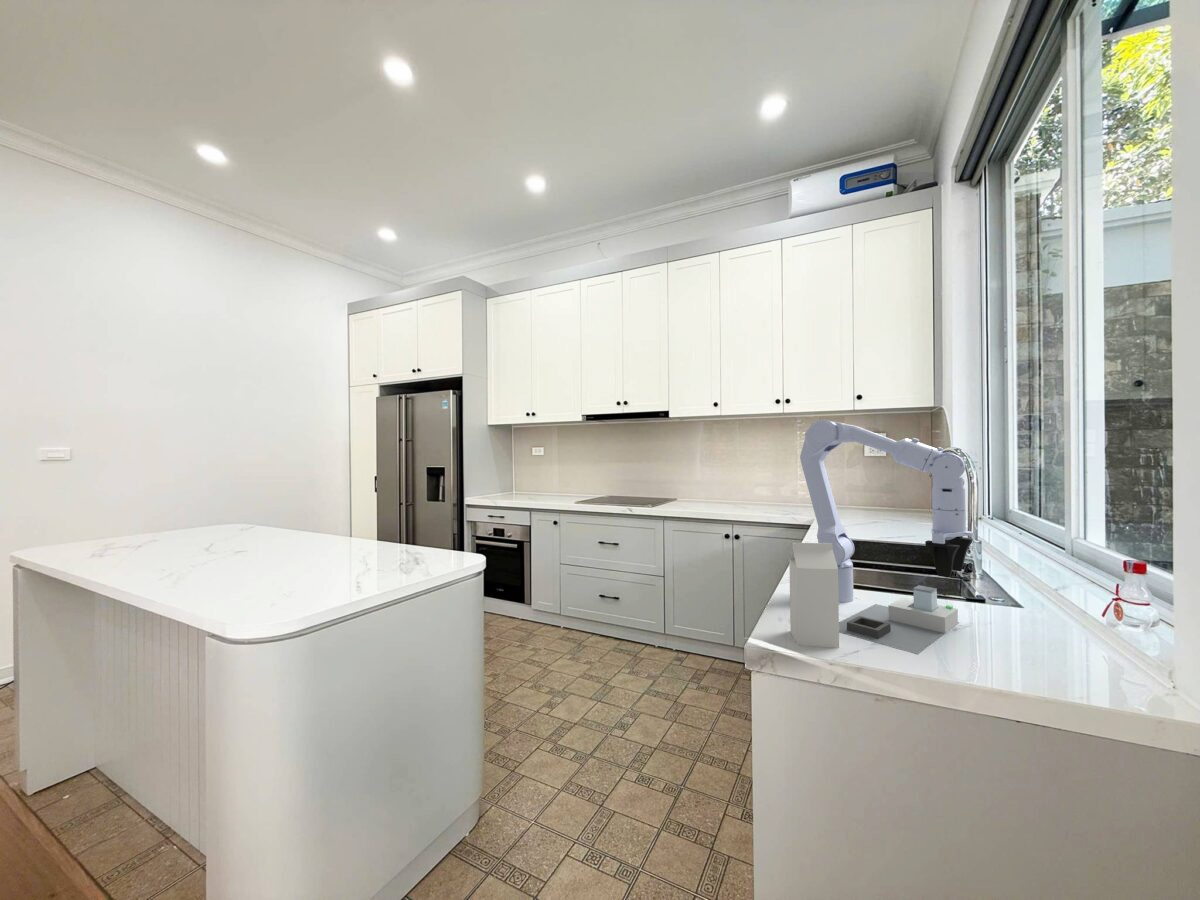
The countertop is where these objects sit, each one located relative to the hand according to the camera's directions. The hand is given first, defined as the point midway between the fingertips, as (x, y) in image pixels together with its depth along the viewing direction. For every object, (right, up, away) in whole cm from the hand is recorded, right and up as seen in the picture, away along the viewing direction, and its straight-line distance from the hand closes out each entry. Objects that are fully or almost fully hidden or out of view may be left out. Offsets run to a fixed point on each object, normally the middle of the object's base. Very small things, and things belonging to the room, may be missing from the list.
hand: (949, 573), depth 100 cm
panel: (-15, -10, -4) cm, 18 cm away
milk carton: (-34, -11, -11) cm, 37 cm away
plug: (-7, -9, -2) cm, 12 cm away
